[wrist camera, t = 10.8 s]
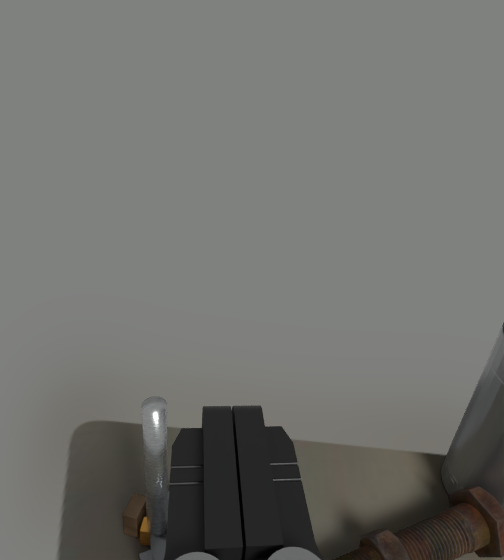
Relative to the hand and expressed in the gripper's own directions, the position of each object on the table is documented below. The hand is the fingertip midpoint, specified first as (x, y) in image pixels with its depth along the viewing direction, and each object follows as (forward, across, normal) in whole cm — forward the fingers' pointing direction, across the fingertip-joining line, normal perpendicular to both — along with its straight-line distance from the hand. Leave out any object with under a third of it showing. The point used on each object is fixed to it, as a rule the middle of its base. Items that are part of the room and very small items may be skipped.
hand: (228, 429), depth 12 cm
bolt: (+11, -17, +28) cm, 35 cm away
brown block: (+15, +5, +28) cm, 32 cm away
